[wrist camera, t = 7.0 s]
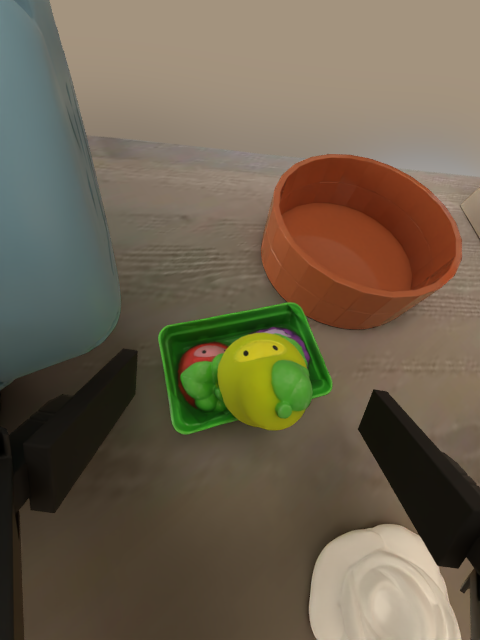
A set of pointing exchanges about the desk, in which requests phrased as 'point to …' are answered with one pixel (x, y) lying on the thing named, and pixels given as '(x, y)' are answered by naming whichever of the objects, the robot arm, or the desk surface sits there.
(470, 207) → the bookstore
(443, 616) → the rose
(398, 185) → the pot
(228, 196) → the desk surface
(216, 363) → the fruit basket
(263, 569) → the desk surface
